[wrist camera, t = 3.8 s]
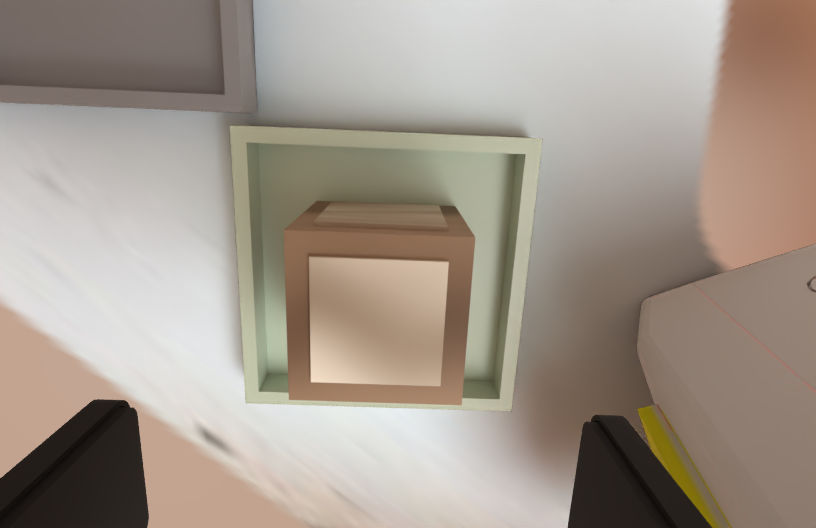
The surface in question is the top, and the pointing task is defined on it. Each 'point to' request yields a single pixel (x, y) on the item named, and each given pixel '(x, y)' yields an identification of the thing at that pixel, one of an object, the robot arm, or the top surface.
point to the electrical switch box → (737, 391)
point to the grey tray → (129, 54)
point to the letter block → (378, 302)
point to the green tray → (385, 183)
